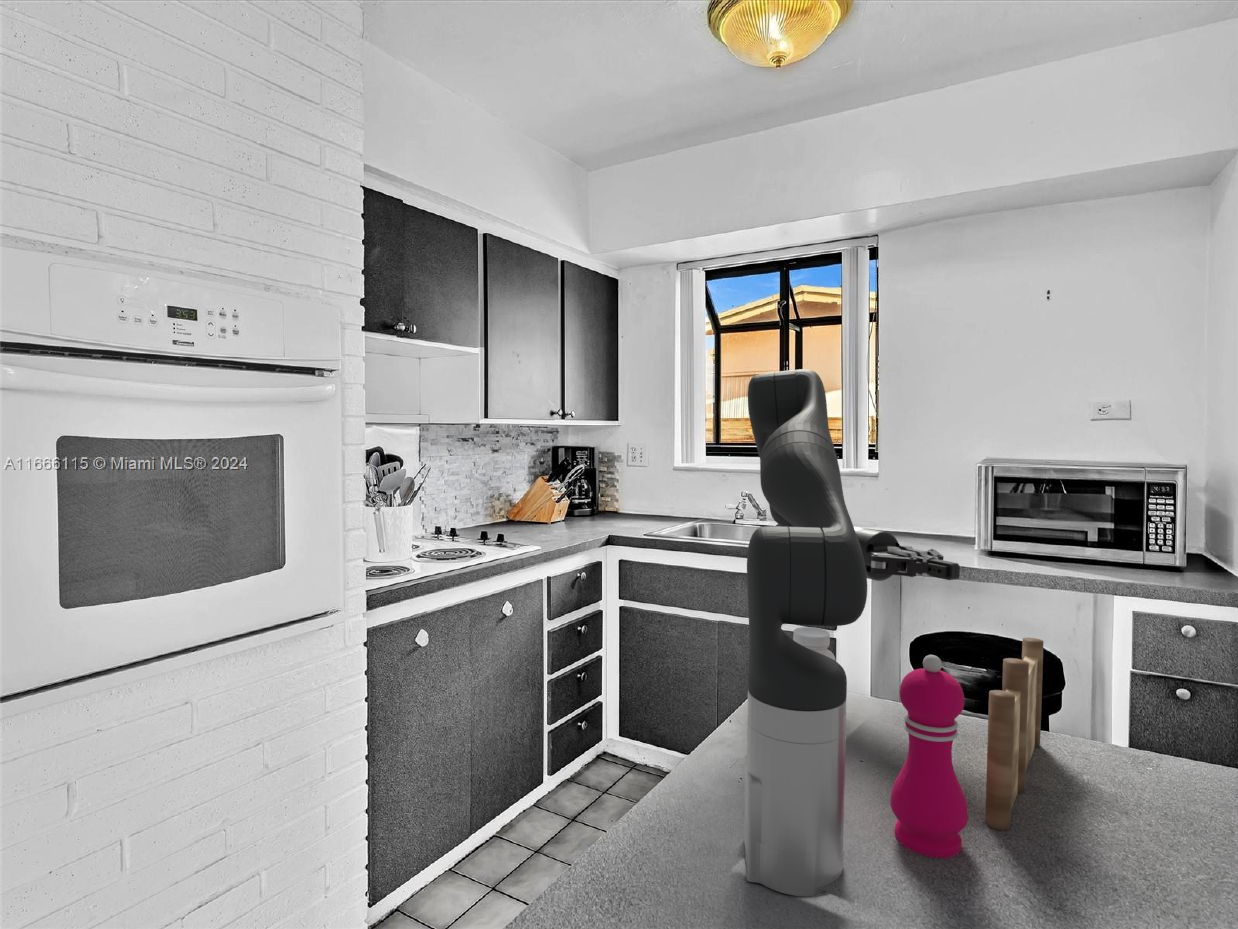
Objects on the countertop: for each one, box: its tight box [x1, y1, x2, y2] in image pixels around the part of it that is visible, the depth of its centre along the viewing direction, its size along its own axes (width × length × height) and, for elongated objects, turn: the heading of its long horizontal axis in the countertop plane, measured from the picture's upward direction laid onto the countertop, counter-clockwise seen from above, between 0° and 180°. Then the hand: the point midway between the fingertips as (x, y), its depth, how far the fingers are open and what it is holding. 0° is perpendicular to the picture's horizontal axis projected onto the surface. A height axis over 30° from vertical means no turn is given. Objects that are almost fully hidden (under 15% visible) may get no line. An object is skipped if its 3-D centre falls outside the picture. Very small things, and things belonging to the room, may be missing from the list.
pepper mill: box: [890, 654, 969, 859], centre depth 72 cm, size 7×7×20 cm
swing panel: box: [1021, 637, 1044, 773], centre depth 90 cm, size 14×2×14 cm, turn 143°
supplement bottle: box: [792, 626, 836, 661], centre depth 106 cm, size 7×7×13 cm
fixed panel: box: [984, 657, 1029, 832], centre depth 79 cm, size 12×3×15 cm, turn 143°
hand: (955, 572), depth 95 cm, fingers closed
